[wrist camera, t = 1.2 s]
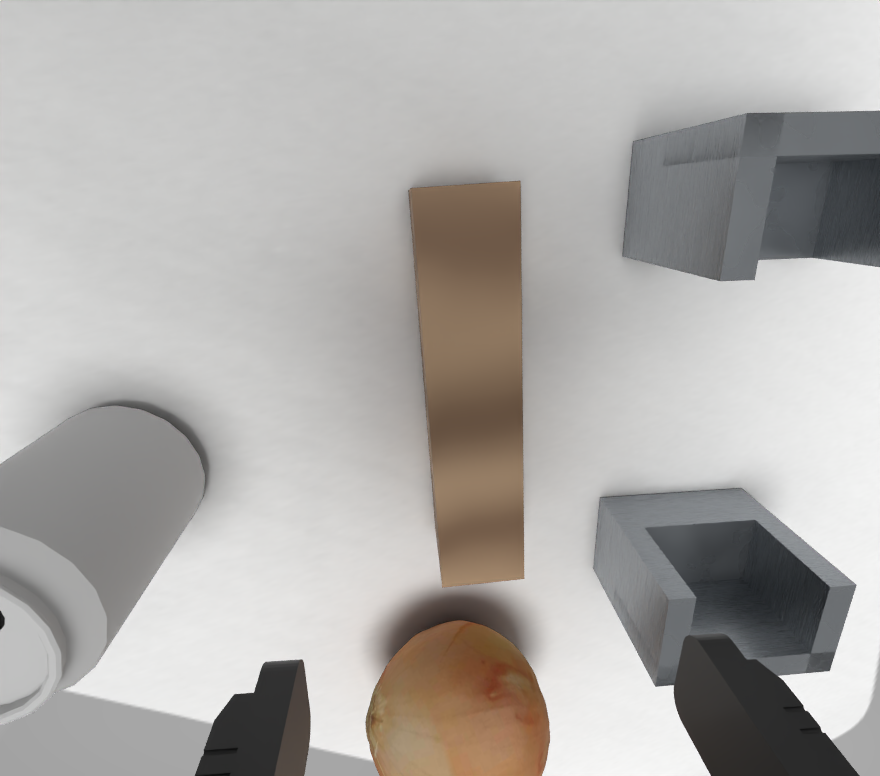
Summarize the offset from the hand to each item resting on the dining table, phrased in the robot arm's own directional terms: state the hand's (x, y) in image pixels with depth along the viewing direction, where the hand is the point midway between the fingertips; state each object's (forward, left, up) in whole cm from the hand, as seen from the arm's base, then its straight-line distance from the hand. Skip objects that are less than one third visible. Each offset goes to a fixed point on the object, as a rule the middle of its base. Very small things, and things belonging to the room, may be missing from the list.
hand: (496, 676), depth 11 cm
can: (+3, -16, -17) cm, 23 cm away
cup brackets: (0, +13, -17) cm, 21 cm away
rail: (-1, +1, -17) cm, 17 cm away
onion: (+17, 0, -17) cm, 24 cm away
